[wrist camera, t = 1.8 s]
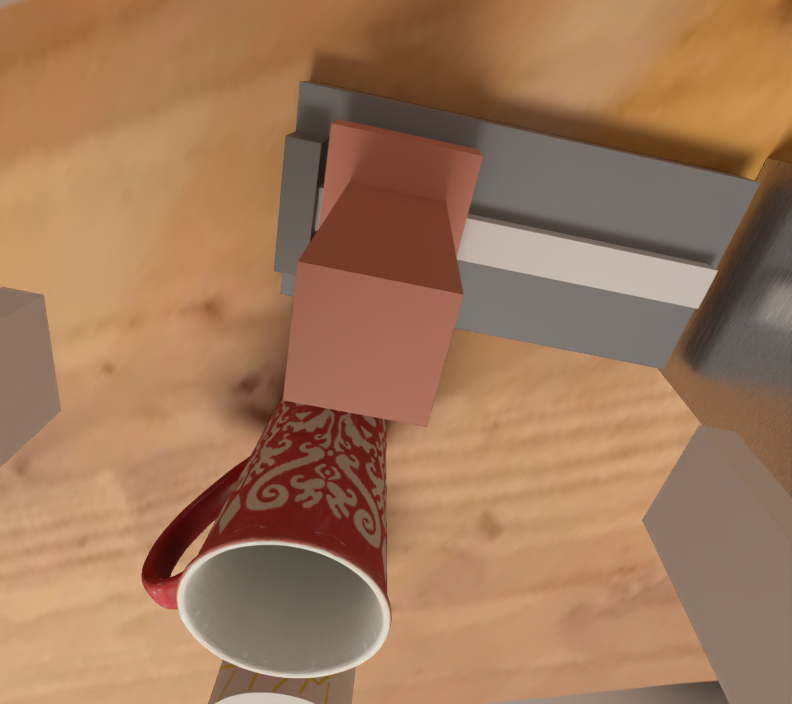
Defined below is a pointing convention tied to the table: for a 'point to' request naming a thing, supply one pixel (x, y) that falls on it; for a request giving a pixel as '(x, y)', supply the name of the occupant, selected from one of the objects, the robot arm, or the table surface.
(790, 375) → the grey box holder
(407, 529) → the table surface
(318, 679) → the cup
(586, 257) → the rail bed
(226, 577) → the mug
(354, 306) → the carriage
